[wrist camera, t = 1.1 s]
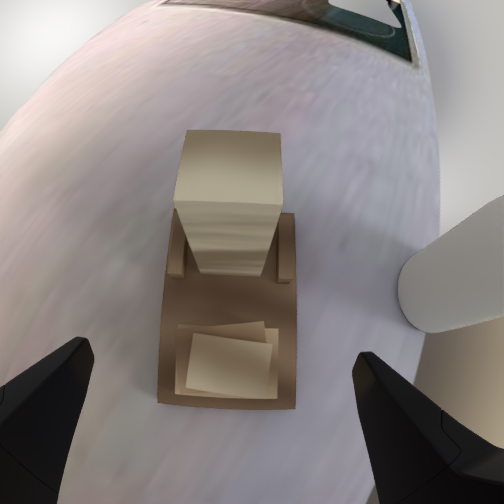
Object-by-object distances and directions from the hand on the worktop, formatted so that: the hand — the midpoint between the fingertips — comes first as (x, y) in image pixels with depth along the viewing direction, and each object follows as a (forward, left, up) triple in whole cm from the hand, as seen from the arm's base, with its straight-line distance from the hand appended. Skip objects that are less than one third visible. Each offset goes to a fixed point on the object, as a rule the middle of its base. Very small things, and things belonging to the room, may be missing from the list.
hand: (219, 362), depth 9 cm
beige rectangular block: (+5, +6, -12) cm, 15 cm away
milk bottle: (+17, -8, -14) cm, 23 cm away
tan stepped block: (+2, +3, -13) cm, 14 cm away
